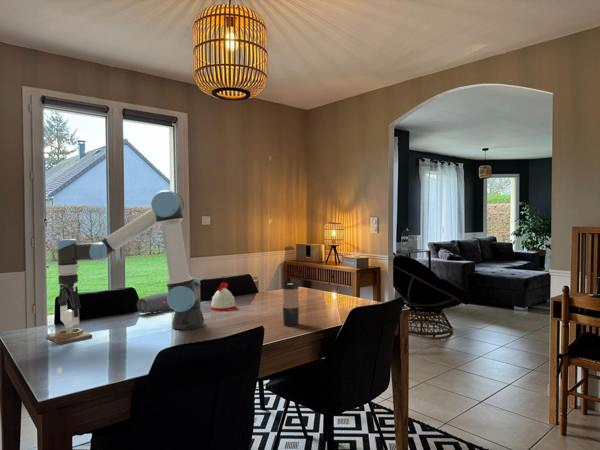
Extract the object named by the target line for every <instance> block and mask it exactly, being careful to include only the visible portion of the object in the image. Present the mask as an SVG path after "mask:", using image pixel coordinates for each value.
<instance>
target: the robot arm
mask: <svg viewBox="0 0 600 450" xmlns="http://www.w3.org/2000/svg"><path fill="white" fill-rule="evenodd" d="M150 203H151V204H150V206H151V208H150V209H149V210H148V211H145V212H144V213H143V214H141V215H140V216H138V217H136V218H134V219H133V220H131V221H130V222H128V223H127V224H125V225H124V226H122V227H120V228H119V229H117V230H116V231H113V232H112V233H110V234H109V235H108V236H106V237H104V238H103V239H101V240H99V241H96V242H85V243H83V242H81V243H80V242H78V241H77V239H75V238H67V239H65V238H64V239H59V240H57V249H56V251H57V272H58V284H59V292H58V301H57V304H58V305H59V307H60V309H59V313H60V316H59V317H60V321H61V322H62V320H61V315H62V313H63V312H64V311H66V310H68V305H69V303H68V300H69V302H70V306H71V308H70V309H71V313H72V325H74V326H77V325H80V309H81V308H82V305H81V304H82V303H81V301H80V296H79V291H78V285H75V284H77V283H78V282H79V275H78V271H79V270H78V269H79V265H78V261H99V260H104V259H105V258H107V257H109V256H110V255H112V253H114V252H115V251H117V250H118V249H120V248H122V247H123V246H125V245H126V244H128V243H129V242H131V241H134V240H135V239H136V238H137V237H139V236H141V235H143V234H144V233H145V232H147V231H149V230H150V229H152V228H153V227H155V226H157V225H159V226H160V229H161V235H162V236H161V237H162V241H163V246H164V247H163V248H164V253H165V258H166V259H165V260H166V265H167V271H168V272H167V273H168V276H169V277H168V278H169V279H168V281H167V282H166V287H167V292H168V295H167V302H168V305H169V306H170V308H169V309H171V310H173V311H174V315H173V318H172V319H173V320H172V322H171V327H172V329H174V330H183V331H184V330H194V329H199V328H202V327H204V326H205V318H204V316H203V312H202V310H201V308H202V307H201V280H200V278H198V277H197V278H195V277H192V276H191V275H190V271H189V266H188V261H187V255H186V254H187V253H186V250H185V248H186V247H185V243H184V237H183V231H182V230H183V229H182V224H181V223H182V222H183V220H184V216H183V210H184V207H185V202H184V199H183V197H182V196H181V195H180V194H179V193H177V192H174V191H172V190H167V189H165V190H160V191H158V192H157V193H155V194H154V196H153V197H152V199H151V202H150Z"/></svg>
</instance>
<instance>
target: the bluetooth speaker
mask: <svg viewBox="0 0 600 450" xmlns="http://www.w3.org/2000/svg"><path fill="white" fill-rule="evenodd" d="M167 295H168V291H167V292H162V293H156V294H151V295H147V296H144V297H141V298H139V299H138V300H137V303H136V307H137V310H138V312H139V313H140V314H149V313H150V312H151V313H150V314H155V313H154V312H158V313H160V312H159V311H162V312H165V310H166V311H168V310H169V309H171V308H170V306H169V305H168V302H167Z"/></svg>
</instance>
